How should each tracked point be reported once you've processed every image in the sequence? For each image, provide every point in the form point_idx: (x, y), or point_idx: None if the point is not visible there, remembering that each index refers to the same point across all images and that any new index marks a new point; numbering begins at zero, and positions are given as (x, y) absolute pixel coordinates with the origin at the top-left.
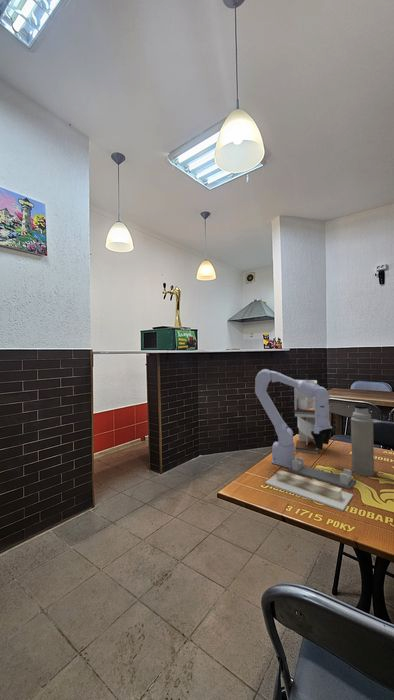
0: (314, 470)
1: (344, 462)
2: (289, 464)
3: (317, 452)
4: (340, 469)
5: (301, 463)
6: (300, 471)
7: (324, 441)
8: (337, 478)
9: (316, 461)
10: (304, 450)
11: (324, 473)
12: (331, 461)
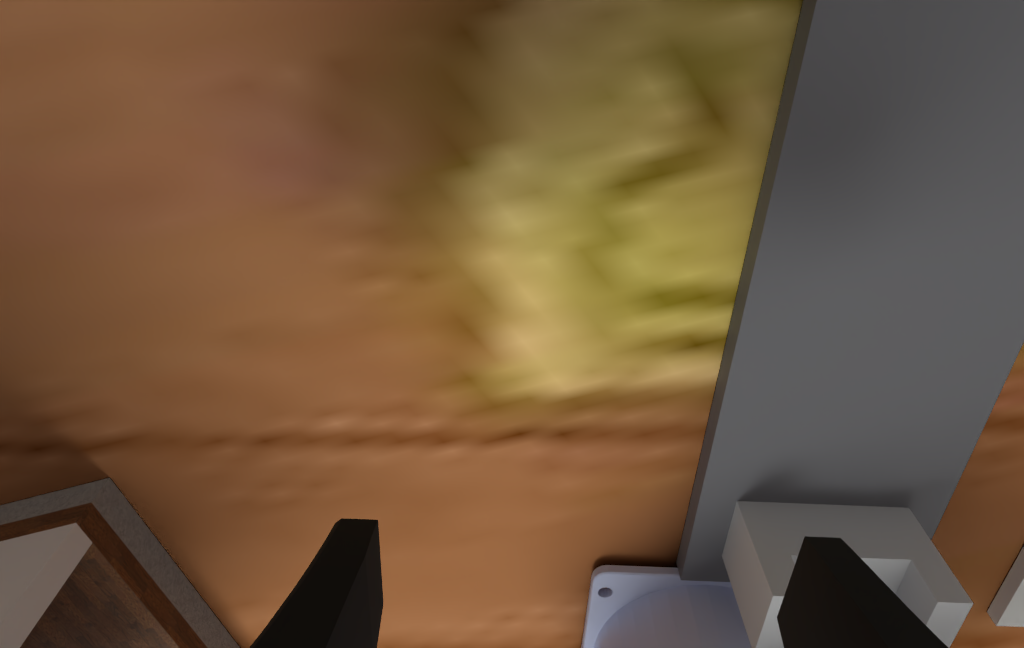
0: (797, 367)
1: (102, 95)
2: None
3: (106, 501)
4: (458, 79)
5: None
6: (915, 482)
7: (371, 630)
8: (965, 12)
9: (393, 428)
10: (194, 624)
11: (846, 234)
12: (233, 275)
